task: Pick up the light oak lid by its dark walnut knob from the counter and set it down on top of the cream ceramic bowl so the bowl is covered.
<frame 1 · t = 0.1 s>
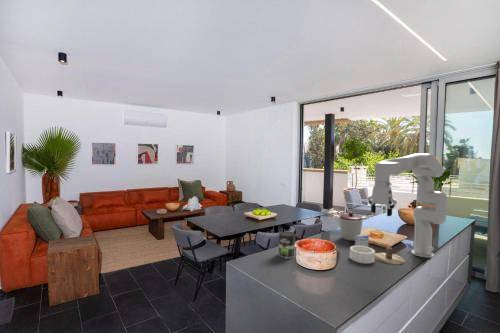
hand: (381, 214, 148), 31 cm above the counter, tool pointing down, fingers open, 9 cm apart
cream bowl: (362, 258, 163), on the counter
medicine box: (361, 247, 184), on the counter
oak lid: (388, 259, 163), on the counter
coffee can: (286, 255, 168), on the counter
canister: (350, 239, 203), on the counter
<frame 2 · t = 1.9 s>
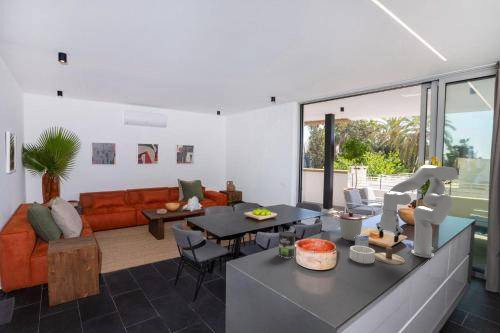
hand: (388, 239, 163), 12 cm above the counter, tool pointing down, fingers open, 9 cm apart
nothing on the counter moved.
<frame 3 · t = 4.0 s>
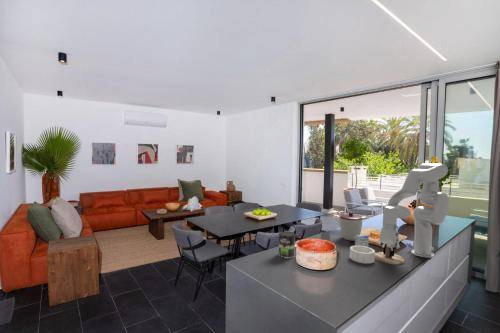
hand: (388, 255, 163), 2 cm above the counter, tool pointing down, fingers closed on oak lid, 3 cm apart
oak lid: (388, 258, 163), on the counter, touching gripper
everything else where it was.
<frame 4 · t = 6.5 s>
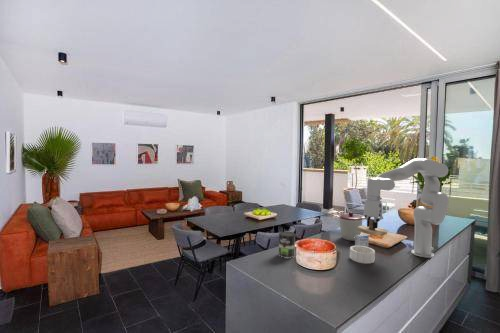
hand: (372, 227, 162), 20 cm above the counter, tool pointing down, fingers closed on oak lid, 3 cm apart
oak lid: (371, 231, 162), point 18 cm above the counter, touching gripper
everything else where it was.
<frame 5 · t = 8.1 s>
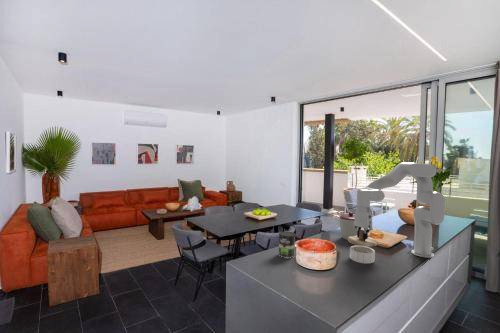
hand: (362, 238, 162), 13 cm above the counter, tool pointing down, fingers closed on oak lid, 3 cm apart
oak lid: (362, 241, 163), point 11 cm above the counter, touching gripper
everything else where it was.
when the fingers open (10 cm above the counter, at t = 9.4 s): oak lid drops 1 cm, resting on cream bowl.
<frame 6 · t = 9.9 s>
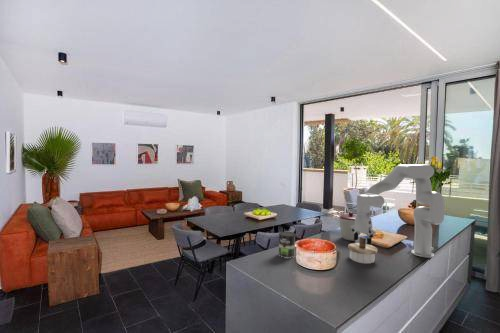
hand: (362, 241, 163), 11 cm above the counter, tool pointing down, fingers open, 9 cm apart
oak lid: (362, 249, 163), point 6 cm above the counter, touching cream bowl
everything else where it was.
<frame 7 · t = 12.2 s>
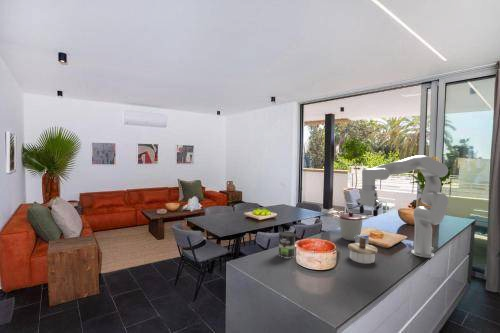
hand: (368, 214, 166), 27 cm above the counter, tool pointing down, fingers open, 9 cm apart
nothing on the counter moved.
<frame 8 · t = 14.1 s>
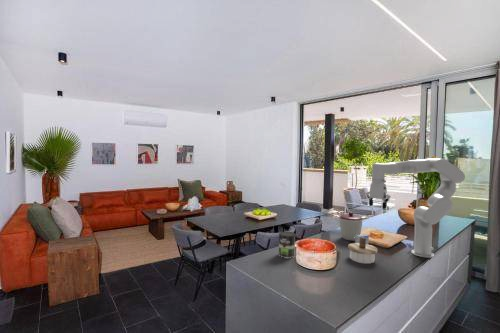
hand: (377, 206, 175), 30 cm above the counter, tool pointing down, fingers open, 9 cm apart
nothing on the counter moved.
at the end: oak lid 0.1 cm from the cream bowl (horizontally); oak lid point 6.0 cm above the counter; oak lid tilted 0° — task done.
